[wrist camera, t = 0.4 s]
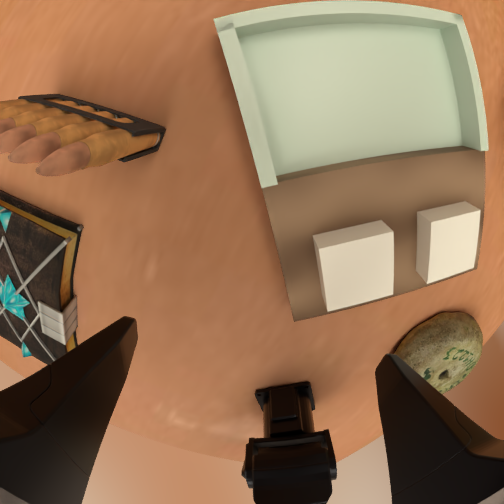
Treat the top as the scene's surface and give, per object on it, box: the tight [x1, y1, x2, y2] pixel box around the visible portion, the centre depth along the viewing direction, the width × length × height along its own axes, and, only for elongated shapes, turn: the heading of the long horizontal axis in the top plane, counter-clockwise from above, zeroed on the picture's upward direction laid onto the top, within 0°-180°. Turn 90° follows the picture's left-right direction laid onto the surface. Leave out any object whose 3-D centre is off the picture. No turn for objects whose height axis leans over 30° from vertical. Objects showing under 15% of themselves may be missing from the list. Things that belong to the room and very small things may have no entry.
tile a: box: [313, 220, 394, 312], centre depth 18 cm, size 5×5×2 cm
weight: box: [394, 312, 483, 394], centre depth 26 cm, size 14×13×5 cm
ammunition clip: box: [0, 94, 166, 176], centre depth 12 cm, size 11×2×12 cm, turn 65°
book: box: [0, 190, 84, 365], centre depth 22 cm, size 22×17×5 cm
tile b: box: [416, 201, 481, 284], centre depth 17 cm, size 5×5×2 cm
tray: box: [214, 0, 488, 188], centre depth 14 cm, size 11×18×3 cm, turn 105°
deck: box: [262, 146, 485, 322], centre depth 19 cm, size 11×18×2 cm, turn 105°
